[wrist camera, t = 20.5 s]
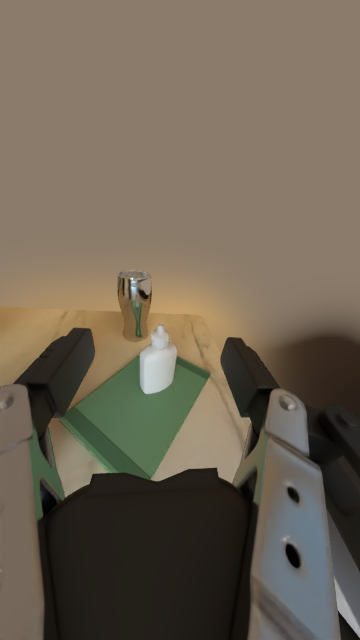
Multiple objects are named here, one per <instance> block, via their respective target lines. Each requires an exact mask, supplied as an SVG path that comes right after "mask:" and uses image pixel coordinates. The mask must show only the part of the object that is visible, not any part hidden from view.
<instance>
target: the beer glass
mask: <svg viewBox="0 0 360 640" xmlns="http://www.w3.org/2000/svg"><path fill="white" fill-rule="evenodd" d="M151 296H152V286H151V274H150V273H148V272H145V271H140V270H123V271H120V272H118V300H119V304H120V308H121V312H122V315H123V319H124V330H123V337H124V338H125V339H126V340H128V341H131V342H139V341H142V340H144V339H146V338H147V337H148V328H147V318H148V314H149V309H150V304H151Z"/></svg>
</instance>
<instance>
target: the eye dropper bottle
mask: <svg viewBox="0 0 360 640" xmlns="http://www.w3.org/2000/svg"><path fill="white" fill-rule="evenodd" d="M168 340H169V333H168V332H167V331H166V330H164V325H163V324H159V325H158V328H157V329H156V330H154V331H153V332H152V337H151V344H150V345H148V346H147V347H145V348H144V349H143V350H142V351H141V353H140V387H141V389H142V391H143V392H144V393H145V394H152V393H157V392H160V391H162V390H164V389H165V388H167V387H168V386H169V385H170V384H171V383H172V382H173V378H174V371H175V364H176V357H177V349H176V347H175V346H174V345H173V344H172V343H171V342H168Z"/></svg>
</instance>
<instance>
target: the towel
mask: <svg viewBox="0 0 360 640" xmlns="http://www.w3.org/2000/svg"><path fill="white" fill-rule="evenodd" d="M209 376H210V372H208V371H206V370H204V369H202V368H200V367H198V366H196V365H194V364H192V363H190V362H188V361H186V360H184V359H182V358H180V357H178V356H177V357H176V364H175V371H174V378H173V382H172V383H171V384H170V385H169V386H168V387H167V388H165V389H164V390H162V391H160V392H157V393H152V394H145V393H144V392H143V391H142V389H141V387H140V355H139V356H138V357H137V358H135V359H134V360H133V361H132V362H130V363H129V364H128V365H126V366H125V367H124V368H123V369H121V370H120V371H119V372H118V373H116V374H115V375H114V376H112V377H111V378H110V379H109V380H107V381H106V382H105V383H104V384H102V385H101V386H100V387H98V388H97V389H96V390H95V391H93V392H92V393H91V394H90V395H88V396H87V397H86V398H84V399H83V400H82V401H81V402H79V403H78V404H77V405H76V406H74V407H73V408H71V409H70V410H69V411H68V412H66V413H65V415H64V417H63V418H59V420H60V421H61V422H62V423H63V424H64V425H65V426H66V428H67V429H68V430H69V431H70V432H71V433H72V434H73V435H74V436H75V437H76V438H77V439H78V440H79V441H80V442H81V443H82V444H83V445H84V446H85V447H86V448H87V449H88V451H89V452H90V453H91V454H92V455H93V456H94V457H95V458H96V459H97V460H98V461H99V462H100V463H101V464H102V465H103V466H104V467H105V468H106V469H107V470H108V471H109V472H110V473H122V472H126V473H129V474H132V475H136V476H139V477H142V478H145V479H148V480H151V478H152V477H153V475H154V473H155V471H156V470H157V468H158V466H159V464H160V463H161V461H162V459H163V457H164V455H165V454H166V452H167V450H168V448H169V447H170V445H171V443H172V441H173V440H174V438H175V436H176V434H177V432H178V431H179V429H180V427H181V425H182V424H183V422H184V420H185V418H186V417H187V415H188V413H189V411H190V409H191V408H192V406H193V404H194V402H195V401H196V399H197V397H198V395H199V394H200V392H201V390H202V388H203V386H204V385H205V383H206V381H207V379H208V378H209Z"/></svg>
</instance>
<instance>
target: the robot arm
mask: <svg viewBox="0 0 360 640" xmlns="http://www.w3.org/2000/svg"><path fill="white" fill-rule="evenodd" d="M94 356H95V347H94V342H93V337H92V332H91V329H89V328H73V329H72V330H71V331H70V332H69V334H68V335H67V336H62V337H60V338H59V339H57V340H55V341H54V342H52V343H51V344H50V345H49V346H48V347H47V348H46V349H45V351H44V352H43V353H42V354H41V355H40V356H39V358H37V359H36V360H35V361H34V362H33V363H32V364H31V365H30V366H29V367H28V369H27V370H26V371H25V372H24V373H23V374H22V375H21V376H20V377H19V378H18V379H17V380H16V381H15V382H14V383H13V384H11V385H6V386H3V387H0V640H360V638H359V637H358V635H357V634H356V633H355V631H354V630H353V629H352V628H351V626H350V625H349V624H348V623H347V621H346V620H345V619H344V618H343V616H342V615H341V614H340V613H339V611H338V610H337V601H336V592H335V583H334V574H333V565H332V557H331V548H330V539H329V530H328V521H327V513H326V508H327V510H328V512H329V514H330V516H331V518H332V519H333V521H334V523H335V525H336V527H337V529H338V531H339V533H340V535H341V537H342V539H343V540H344V542H345V544H346V546H347V548H348V550H349V552H350V554H351V556H352V558H353V560H354V562H355V563H356V565H357V567H358V569H359V571H360V493H359V491H358V489H357V488H356V487H355V485H354V483H353V482H352V480H351V479H350V477H349V476H348V474H347V473H346V472H345V470H344V469H343V467H342V466H341V464H340V463H339V461H338V460H337V459H338V458H340V457H341V456H344V457H345V458H346V460H347V461H348V463H349V464H350V465H351V467H352V468H353V470H354V471H355V472H356V474H357V475H358V477H359V478H360V420H359V419H358V418H357V417H356V416H355V415H353V414H352V413H351V412H349V411H348V410H346V409H344V408H342V407H340V406H337V405H333V404H330V405H327V406H326V407H325V408H324V409H323V410H319V409H315V408H312V407H309V406H306V405H303V403H302V402H301V401H300V400H299V399H298V398H297V397H296V396H295V395H293V394H292V393H290V392H288V391H286V390H283V389H281V388H280V387H279V385H278V384H277V382H276V381H275V379H274V378H273V376H272V375H271V374H270V372H269V371H268V369H267V368H266V367H265V365H264V363H263V362H262V361H261V359H260V358H259V356H258V355H257V353H256V352H255V351H254V350H252V349H251V348H250V347H249V346H246V345H245V343H244V341H243V340H242V339H241V338H234V337H229V338H227V340H226V342H225V345H224V348H223V351H222V354H221V366H222V369H223V371H224V374H225V376H226V379H227V382H228V384H229V387H230V390H231V392H232V395H233V397H234V400H235V403H236V405H237V408H238V410H239V413H240V416H241V417H250V420H251V424H250V426H249V430H248V434H247V438H246V442H245V446H244V450H243V454H242V458H241V461H240V464H239V467H238V469H237V471H236V474H235V476H234V479H233V483H232V484H231V483H230V482H228V481H226V480H224V479H222V478H219V476H218V471H217V468H204V469H188V470H186V471H183V472H181V473H178V474H176V475H174V476H171V477H169V478H166V479H164V480H162V481H159V482H155V481H152V480H148V479H145V478H142V477H139V476H136V475H132V474H129V473H126V472H122V473H101V474H92V478H91V481H90V484H89V485H86V486H84V487H82V488H80V489H78V490H76V491H75V492H73V493H72V494H70V495H69V496H67V497H66V498H65V494H64V490H63V486H62V483H61V480H60V477H59V475H58V472H57V468H56V463H55V458H54V452H53V447H52V442H51V437H50V432H49V428H48V425H49V423H50V421H51V419H52V418H63V417H64V415H65V413H66V411H67V409H68V407H69V405H70V403H71V401H72V400H73V398H74V396H75V394H76V392H77V390H78V388H79V386H80V384H81V382H82V380H83V379H84V377H85V375H86V373H87V371H88V369H89V367H90V365H91V363H92V361H93V359H94Z"/></svg>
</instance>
